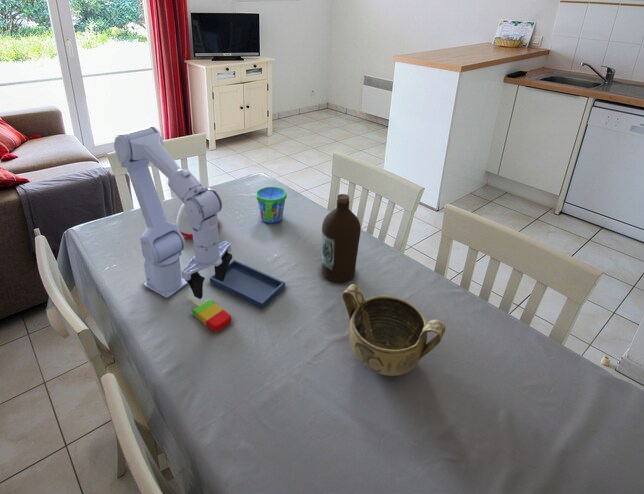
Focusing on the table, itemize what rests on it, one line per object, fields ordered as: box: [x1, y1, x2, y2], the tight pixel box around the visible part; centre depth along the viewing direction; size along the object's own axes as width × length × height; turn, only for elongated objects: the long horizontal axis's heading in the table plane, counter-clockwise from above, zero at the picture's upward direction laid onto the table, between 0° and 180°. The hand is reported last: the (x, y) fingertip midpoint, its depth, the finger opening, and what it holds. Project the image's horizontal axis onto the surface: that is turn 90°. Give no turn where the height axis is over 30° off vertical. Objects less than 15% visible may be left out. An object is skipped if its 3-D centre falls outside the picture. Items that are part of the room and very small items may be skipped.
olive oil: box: [321, 193, 362, 285], centre depth 119 cm, size 11×11×25 cm
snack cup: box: [255, 186, 288, 224], centre depth 149 cm, size 16×10×10 cm
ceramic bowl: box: [342, 283, 446, 377], centre depth 93 cm, size 22×17×15 cm
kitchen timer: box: [175, 202, 220, 240], centre depth 142 cm, size 14×14×15 cm
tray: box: [209, 259, 286, 310], centre depth 117 cm, size 18×10×2 cm, turn 57°
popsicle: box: [186, 295, 232, 333], centre depth 108 cm, size 6×15×2 cm, turn 48°
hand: (209, 288), depth 104 cm, fingers open, 7 cm apart
